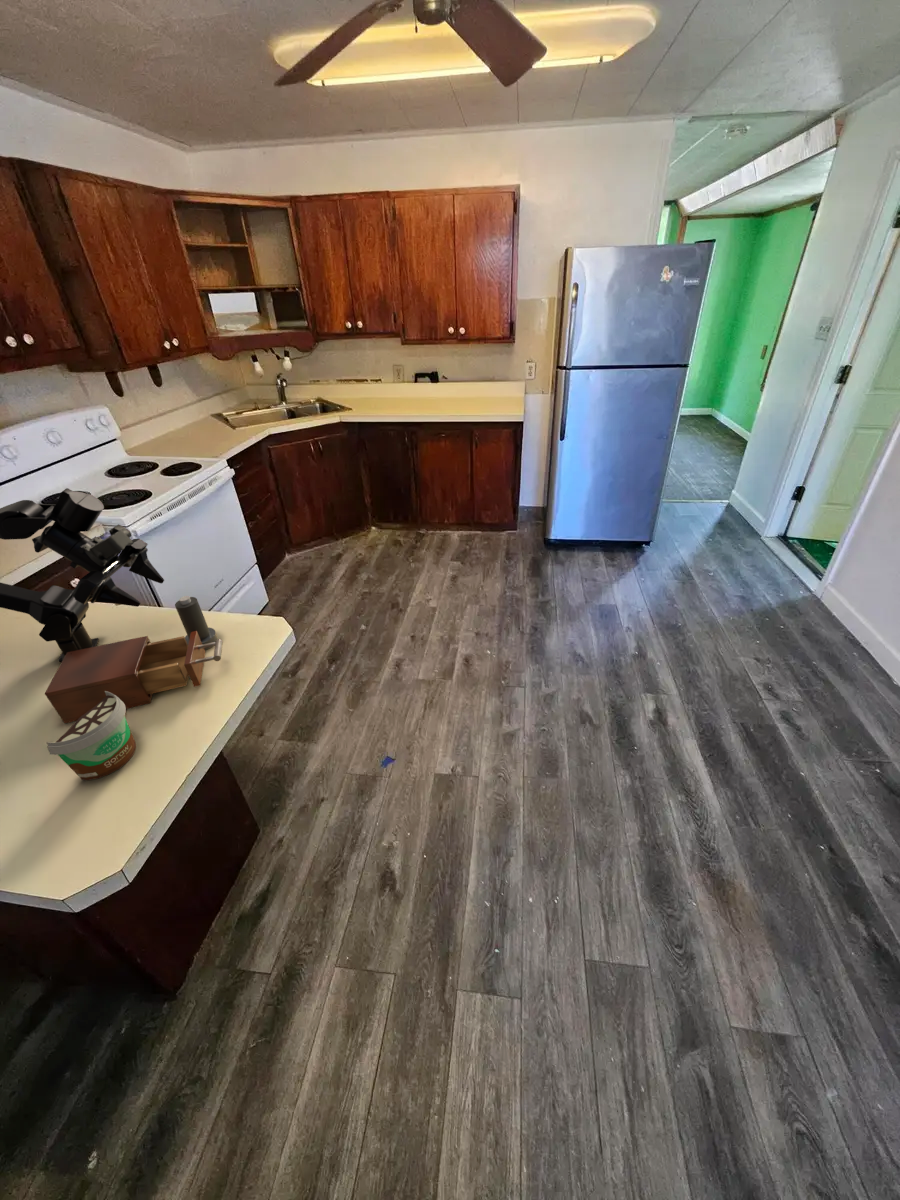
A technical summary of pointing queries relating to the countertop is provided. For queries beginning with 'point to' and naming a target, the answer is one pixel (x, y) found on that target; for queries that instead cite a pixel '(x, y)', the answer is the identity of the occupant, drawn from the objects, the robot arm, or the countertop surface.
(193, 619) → the pepper mill
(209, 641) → the disc
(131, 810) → the countertop surface
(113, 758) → the food container
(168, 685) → the drawer
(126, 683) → the cabinet
